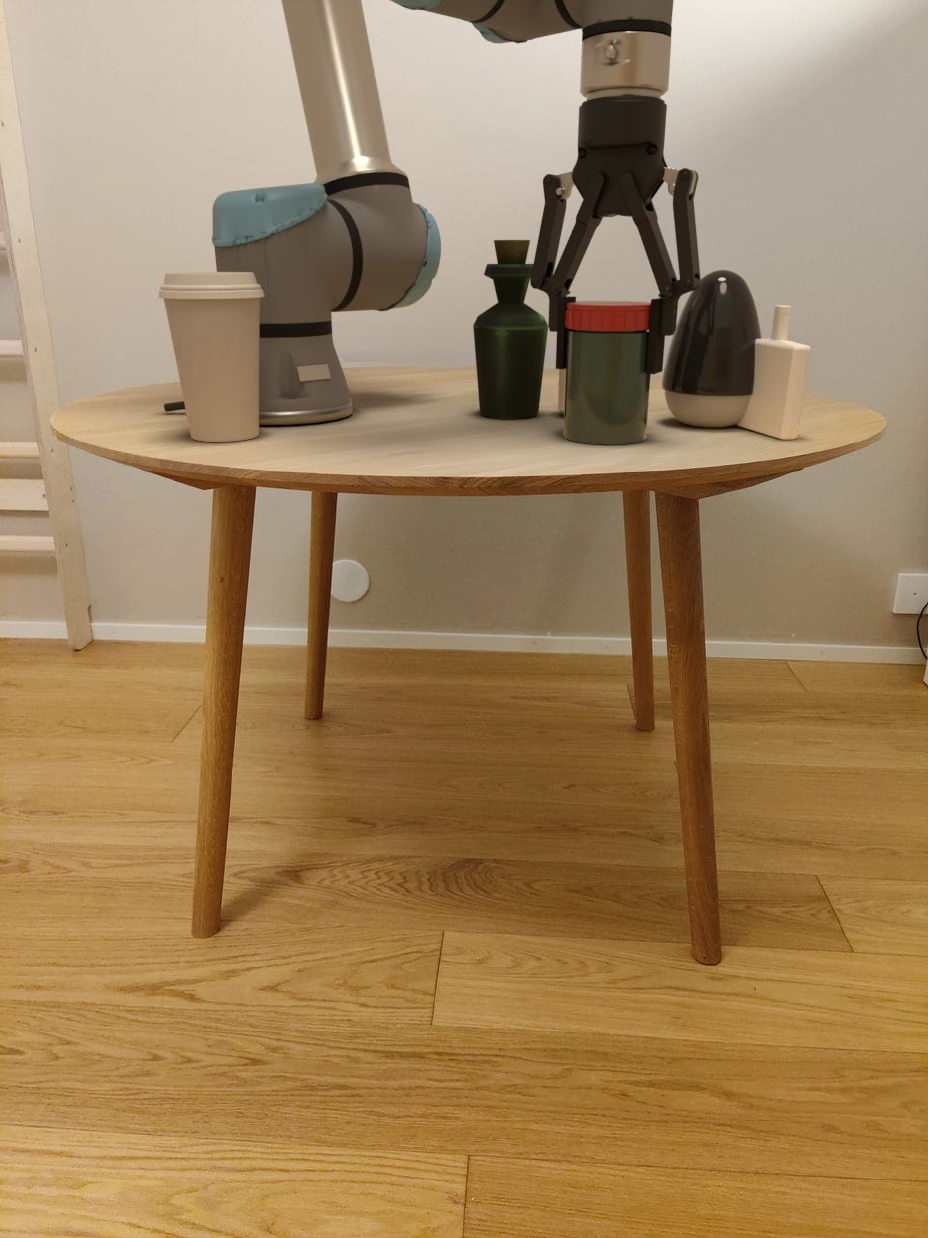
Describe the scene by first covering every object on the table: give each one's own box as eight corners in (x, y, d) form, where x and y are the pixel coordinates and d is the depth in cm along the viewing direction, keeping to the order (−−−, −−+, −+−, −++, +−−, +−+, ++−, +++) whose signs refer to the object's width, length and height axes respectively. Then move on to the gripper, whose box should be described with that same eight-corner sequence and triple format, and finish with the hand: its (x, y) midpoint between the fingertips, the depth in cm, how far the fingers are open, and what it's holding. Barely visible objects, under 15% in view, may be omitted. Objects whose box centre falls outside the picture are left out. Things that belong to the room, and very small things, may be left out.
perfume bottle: (799, 439, 89) (819, 308, 84) (781, 439, 88) (801, 308, 84) (751, 424, 96) (767, 303, 92) (735, 425, 95) (750, 303, 91)
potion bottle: (458, 413, 103) (457, 240, 97) (514, 406, 108) (517, 240, 101) (502, 423, 97) (505, 239, 91) (560, 415, 102) (567, 239, 95)
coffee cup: (241, 424, 96) (228, 271, 91) (294, 436, 90) (283, 272, 85) (156, 435, 90) (136, 272, 85) (206, 449, 84) (188, 273, 78)
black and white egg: (736, 414, 103) (751, 268, 97) (774, 430, 93) (794, 269, 87) (646, 416, 102) (657, 268, 96) (676, 432, 92) (690, 270, 86)
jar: (550, 440, 88) (554, 310, 84) (580, 427, 95) (586, 306, 91) (630, 447, 85) (639, 312, 81) (656, 433, 91) (665, 308, 87)
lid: (551, 329, 84) (552, 303, 84) (584, 323, 91) (585, 300, 91) (639, 332, 81) (641, 305, 80) (666, 326, 88) (668, 302, 87)
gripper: (494, 101, 81) (491, 368, 89) (737, 81, 72) (709, 380, 80) (528, 112, 87) (523, 361, 95) (757, 95, 78) (729, 371, 86)
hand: (608, 369), depth 88 cm, fingers closed on lid, 8 cm apart
